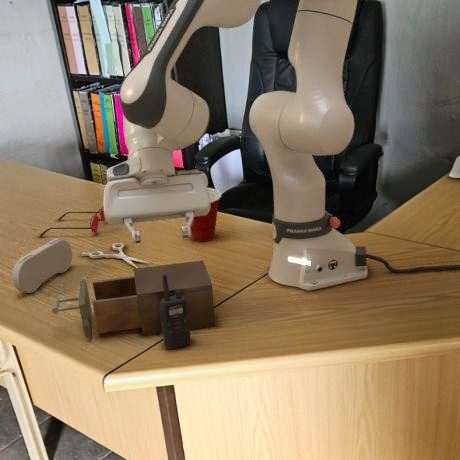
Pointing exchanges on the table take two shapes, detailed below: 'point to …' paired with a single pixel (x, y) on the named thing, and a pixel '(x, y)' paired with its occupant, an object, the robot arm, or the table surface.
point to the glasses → (94, 223)
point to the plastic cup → (206, 219)
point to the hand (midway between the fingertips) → (162, 239)
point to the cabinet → (179, 278)
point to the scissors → (120, 255)
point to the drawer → (106, 305)
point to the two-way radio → (174, 318)
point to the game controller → (41, 265)
